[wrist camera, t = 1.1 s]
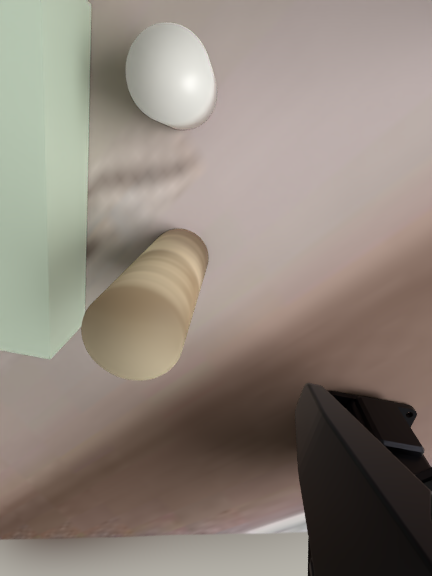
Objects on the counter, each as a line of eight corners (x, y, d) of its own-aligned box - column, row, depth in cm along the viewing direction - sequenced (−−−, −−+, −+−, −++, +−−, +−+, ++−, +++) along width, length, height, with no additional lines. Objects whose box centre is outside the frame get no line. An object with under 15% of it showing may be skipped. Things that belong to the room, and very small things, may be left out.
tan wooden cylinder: (203, 288, 21) (176, 388, 12) (149, 278, 21) (80, 370, 12) (212, 234, 20) (189, 301, 11) (154, 223, 20) (82, 281, 11)
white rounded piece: (211, 135, 18) (203, 130, 14) (146, 123, 18) (123, 115, 14) (222, 58, 17) (218, 31, 13) (153, 46, 17) (128, 14, 13)
